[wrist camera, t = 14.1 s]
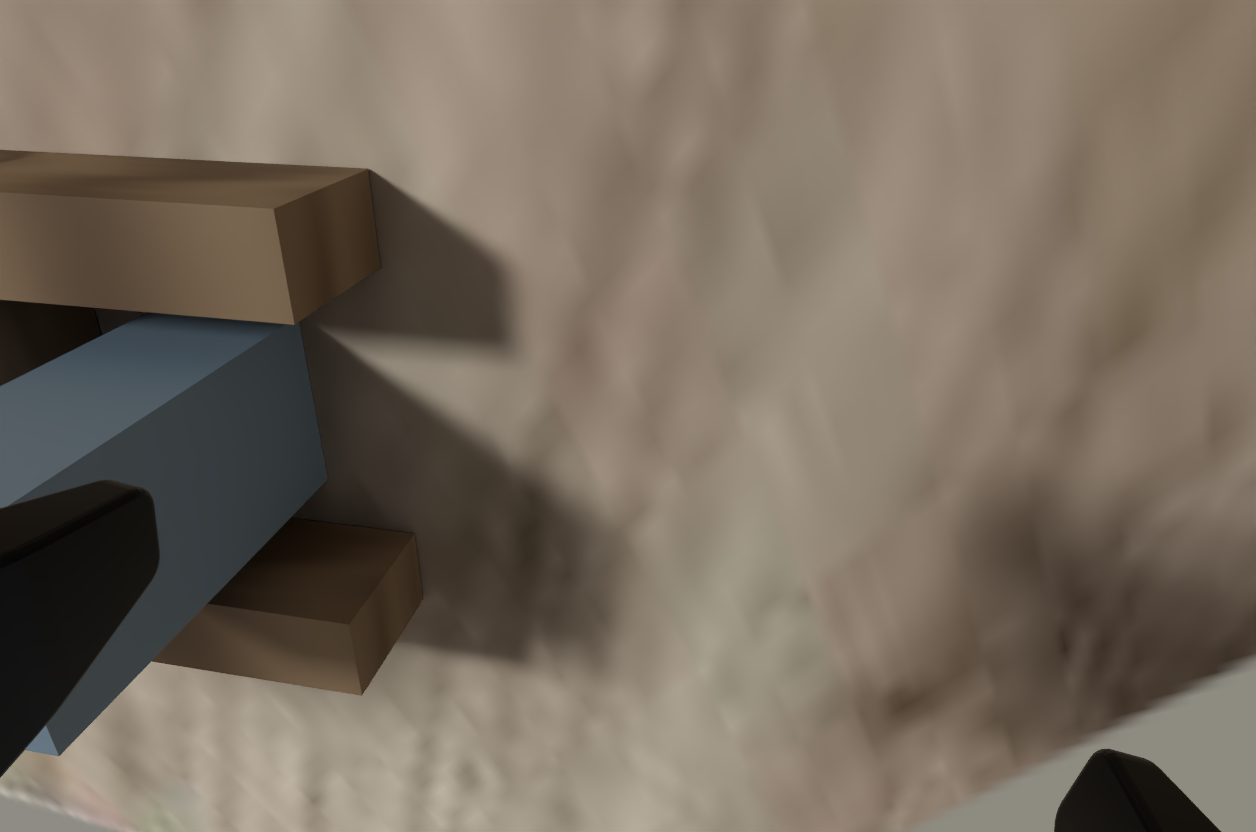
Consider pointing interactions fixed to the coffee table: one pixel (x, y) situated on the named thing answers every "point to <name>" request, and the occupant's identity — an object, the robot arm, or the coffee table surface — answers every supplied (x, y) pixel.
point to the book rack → (228, 289)
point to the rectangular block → (168, 463)
